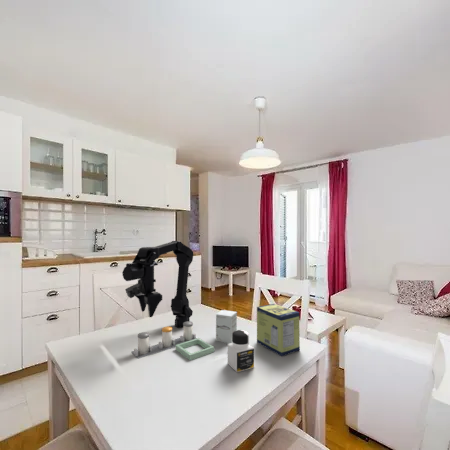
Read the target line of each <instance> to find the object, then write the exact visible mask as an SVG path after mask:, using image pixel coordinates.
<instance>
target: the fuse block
mask: <svg viewBox="0 0 450 450" xmlns="http://www.w3.org/2000/svg"><path fill="white" fill-rule="evenodd" d="M193 325H194V323H193V321H187V322H184V323H183V328H182V329H183V334H182V335H180V336H179V337H177V338H173V337H172V346H171V347H168V348H164V347H163V343H162V341H158V342H157V343H158V344H154V345H151V344H150V343H149V342H150V333H149V332H147V331H143V332H139V333H138V334H137V348H134V349H133V350H132V351H131V354H133V356H134V357H135V358H136V359H141V358H145V357H149V356H150V355H154V354H157V353H161V352H164V351H168V350H171V349H176V345H177V344H180V343H184V342H187V341H190V340H194V339H197V338H196V336H197V334H196V333H195V332H194V331H193V328H194V326H193Z"/></svg>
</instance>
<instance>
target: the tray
mask: <svg viewBox="0 0 450 450" xmlns="http://www.w3.org/2000/svg"><path fill="white" fill-rule="evenodd" d="M196 345H199V346H201V347H202V348H204V349H200V350H197V351H194V352H190V351H188V350H187V349H186V348H189V347H192V346H196ZM175 351H177V352H178V353H180V355H182V356H183V357H184V358H186V359H188V360H189V361H193V360H195V359H198V358H201V357H203V356H207V355H209V354H212V353H214V352H215V346H213V345H212V344H210V343H208V342H207V341H205V340H203V339H201V338H199V337H198V338H197V339H194V340H190V341H187V342H184V343H180V344H177V345H176V347H175Z"/></svg>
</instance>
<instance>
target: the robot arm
mask: <svg viewBox="0 0 450 450" xmlns="http://www.w3.org/2000/svg"><path fill="white" fill-rule="evenodd" d="M168 253H173V254H174V255H175V256H176V258H175V259H176V263H177V265H178V269H177V270H178V272H177V284H176V293H175V296H174V298H171V300H170V302H171V303H170V308H171V309H170V310H171V311H172V315H173V316H175V319H174V328H177V329H180V328H181V329H183V323H184V322H187V321H190V319H191V317H192V316H193V311H194V310H192V308H191V307H190V301H189V298H188V296H187V291H188V290H187V289H188V281H189V279H188V278H189V267H190V266H191V264H192V263H193V261H194V260H193V259H194V251H193V249H191V248H190V247H189V246H187V245H185V244H184V243H183V242H182V241H180V240H172V241H170V242H166V243H163V244H160V245H157V246H143V247H140V248H138V251H137V253H136V255H135V257H134V259H133V261H132V262H130V263H126V264H125V267H124V268H123V270H122V279H123V280H125V282H130V281H135V280H137V283H135V284H132V285H131V286H128V287H127V288H125V294H126V296H127V297H128V298H129V299H132V298H137V299H138V302H139V306H140V310H141V312H142V313H143V312H145V311H146V309H148V310H147V311H148V314H149V316H148V317H149V318H152V317H153V316H154V314H155V313H156V310H157V308H158V306H159V305H160V303H161V302H162V301H163V294H162V293H160V292H158V291H157V289H156V288H155V283H156V282H157V281H156V278H155V267H156V266H158V262H157V261H156V260H157V259H159V258H160V256H162V255H165V254H168ZM190 322H191V321H190Z"/></svg>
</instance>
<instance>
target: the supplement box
mask: <svg viewBox="0 0 450 450" xmlns="http://www.w3.org/2000/svg"><path fill="white" fill-rule="evenodd" d="M237 318H238V311H233V310H226V309H221V310H219V312H216V314H215V319H216V320H215V341H216V342H221V343H222V344H225V345H226V346H228V344H230V343H232V333H233V332H234V331H237V330H238V329H237V327H238V326H237V325H238V324H237V323H238V322H237V321H238V320H237Z"/></svg>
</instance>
